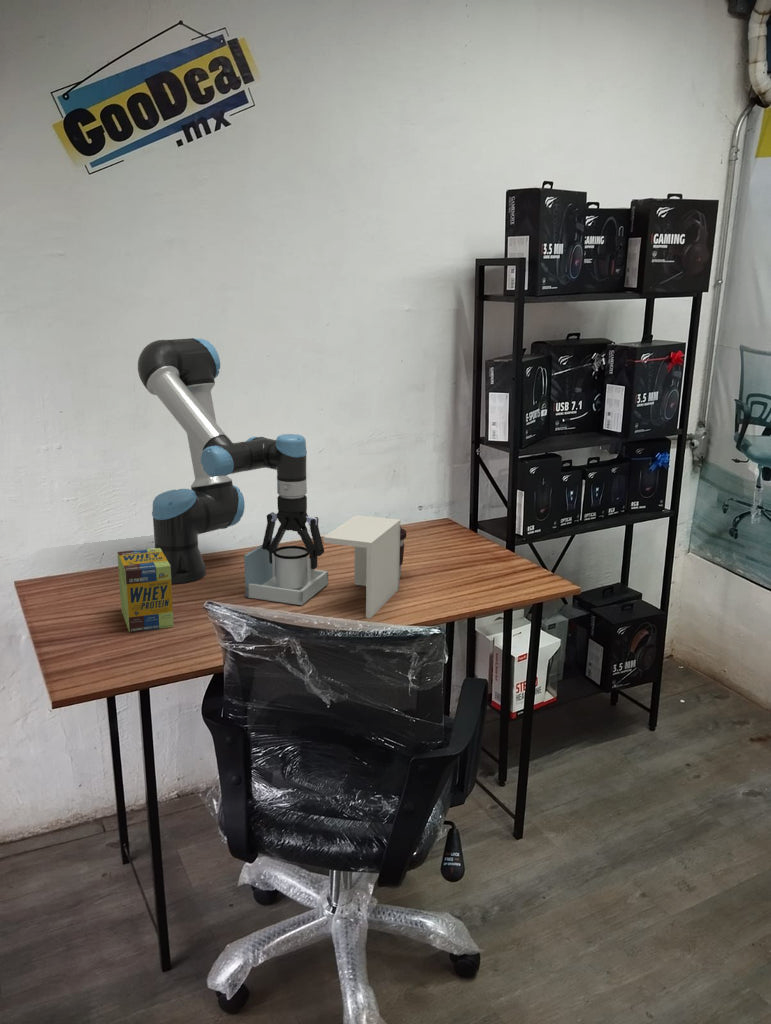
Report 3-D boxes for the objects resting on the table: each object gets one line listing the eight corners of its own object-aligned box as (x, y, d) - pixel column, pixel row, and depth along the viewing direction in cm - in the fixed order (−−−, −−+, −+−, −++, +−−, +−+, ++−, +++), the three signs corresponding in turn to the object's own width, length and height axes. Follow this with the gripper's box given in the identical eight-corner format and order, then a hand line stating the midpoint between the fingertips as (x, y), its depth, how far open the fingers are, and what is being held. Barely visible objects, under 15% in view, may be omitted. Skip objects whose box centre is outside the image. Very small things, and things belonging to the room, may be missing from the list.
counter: (323, 611, 212) (323, 537, 207) (355, 583, 232) (356, 514, 227) (370, 618, 208) (371, 542, 203) (399, 589, 228) (400, 519, 223)
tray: (245, 596, 220) (244, 555, 217) (275, 576, 235) (274, 537, 232) (301, 605, 214) (301, 562, 212) (328, 583, 230) (327, 543, 227)
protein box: (129, 633, 197) (124, 570, 193) (120, 610, 210) (116, 551, 206) (174, 627, 201) (171, 565, 197) (163, 604, 214) (160, 546, 210)
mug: (313, 588, 220) (313, 554, 217) (277, 591, 217) (277, 558, 215) (303, 573, 231) (303, 541, 228) (268, 576, 228) (268, 544, 226)
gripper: (246, 494, 217) (249, 576, 223) (325, 502, 210) (326, 587, 216) (260, 488, 224) (262, 568, 230) (337, 495, 217) (337, 578, 223)
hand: (293, 577), depth 223 cm, fingers closed on mug, 9 cm apart
